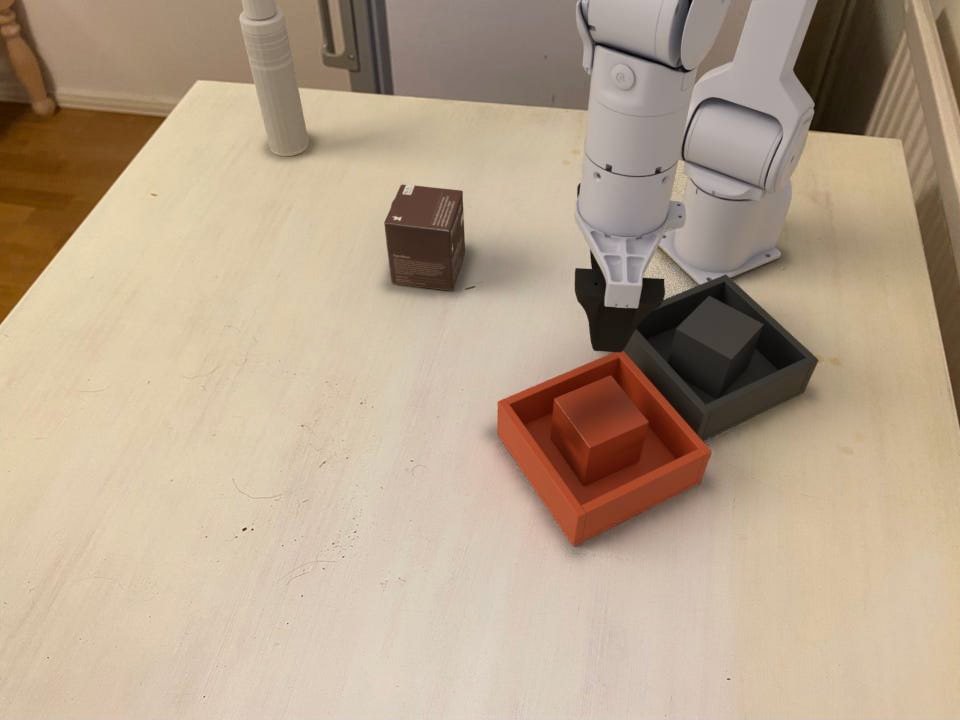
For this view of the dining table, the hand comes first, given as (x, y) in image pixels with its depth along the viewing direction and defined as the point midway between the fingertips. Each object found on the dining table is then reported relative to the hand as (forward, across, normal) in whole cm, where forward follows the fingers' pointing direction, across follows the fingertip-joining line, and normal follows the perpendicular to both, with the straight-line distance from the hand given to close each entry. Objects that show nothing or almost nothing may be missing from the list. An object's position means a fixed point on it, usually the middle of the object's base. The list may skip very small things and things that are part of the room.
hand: (607, 309), depth 59 cm
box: (+11, +15, +16) cm, 24 cm away
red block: (+10, -6, 0) cm, 11 cm away
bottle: (+11, +34, +34) cm, 49 cm away
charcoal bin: (+10, +4, -9) cm, 15 cm away
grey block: (+10, +4, -10) cm, 14 cm away
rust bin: (+10, -6, 0) cm, 12 cm away
